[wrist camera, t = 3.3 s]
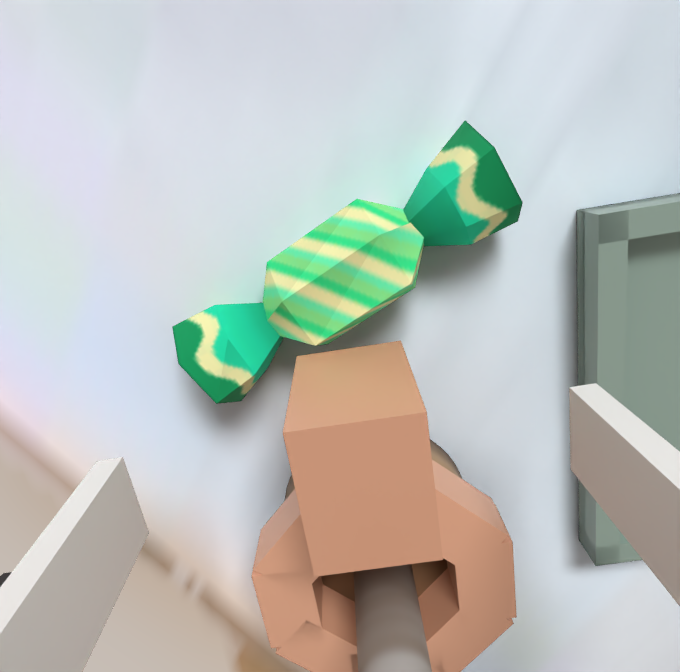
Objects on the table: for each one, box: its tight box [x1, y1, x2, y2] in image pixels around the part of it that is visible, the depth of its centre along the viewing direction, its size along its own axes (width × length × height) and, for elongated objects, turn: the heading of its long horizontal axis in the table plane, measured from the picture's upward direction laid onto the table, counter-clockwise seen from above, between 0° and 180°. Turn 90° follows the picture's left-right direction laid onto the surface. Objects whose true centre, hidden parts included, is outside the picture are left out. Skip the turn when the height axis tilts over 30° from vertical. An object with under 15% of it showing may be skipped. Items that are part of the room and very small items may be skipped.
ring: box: [252, 341, 516, 672], centre depth 17 cm, size 9×13×5 cm
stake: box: [285, 440, 462, 672], centre depth 16 cm, size 8×8×14 cm
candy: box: [173, 121, 522, 404], centre depth 18 cm, size 12×3×4 cm
